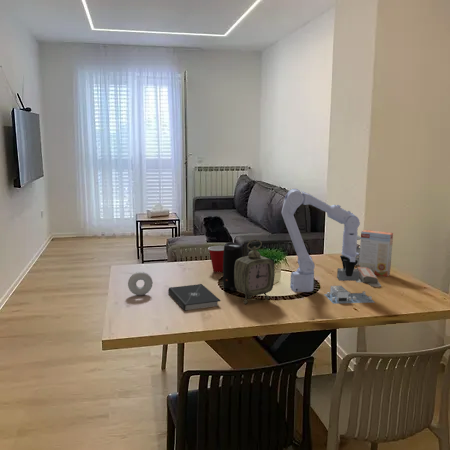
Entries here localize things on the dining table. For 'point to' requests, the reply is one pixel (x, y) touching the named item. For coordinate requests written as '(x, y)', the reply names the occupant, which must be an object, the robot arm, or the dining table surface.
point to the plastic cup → (217, 257)
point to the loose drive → (342, 276)
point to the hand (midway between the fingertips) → (347, 274)
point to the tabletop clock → (254, 274)
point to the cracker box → (376, 251)
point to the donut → (133, 281)
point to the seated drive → (339, 293)
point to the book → (193, 297)
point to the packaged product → (368, 277)
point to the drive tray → (352, 298)
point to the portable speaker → (230, 263)
